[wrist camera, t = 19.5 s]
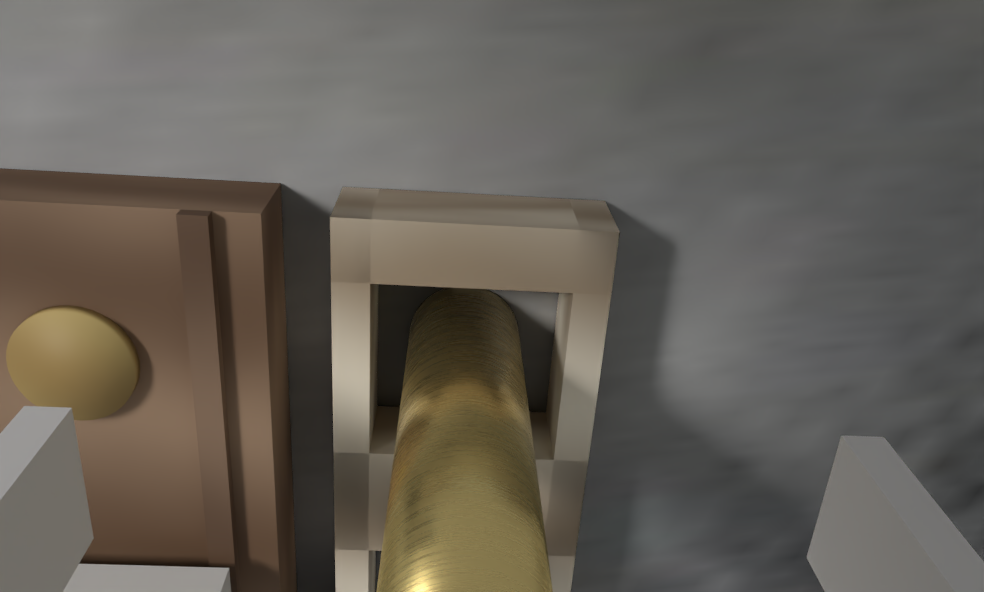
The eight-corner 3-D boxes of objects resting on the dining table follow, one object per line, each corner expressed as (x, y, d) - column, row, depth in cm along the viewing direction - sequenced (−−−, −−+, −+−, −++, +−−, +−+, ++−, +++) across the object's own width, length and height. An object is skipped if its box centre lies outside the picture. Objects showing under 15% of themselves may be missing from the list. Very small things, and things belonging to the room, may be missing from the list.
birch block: (342, 187, 18) (329, 217, 17) (604, 201, 19) (619, 232, 17) (346, 653, 24) (337, 713, 22) (546, 658, 25) (553, 717, 23)
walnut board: (-100, 163, 18) (-173, 196, 16) (280, 183, 18) (257, 219, 16) (18, 671, 24) (-24, 743, 22) (300, 677, 25) (285, 748, 22)
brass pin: (410, 283, 19) (363, 610, 10) (522, 287, 20) (572, 612, 11) (409, 380, 21) (365, 753, 11) (515, 383, 21) (555, 754, 12)
